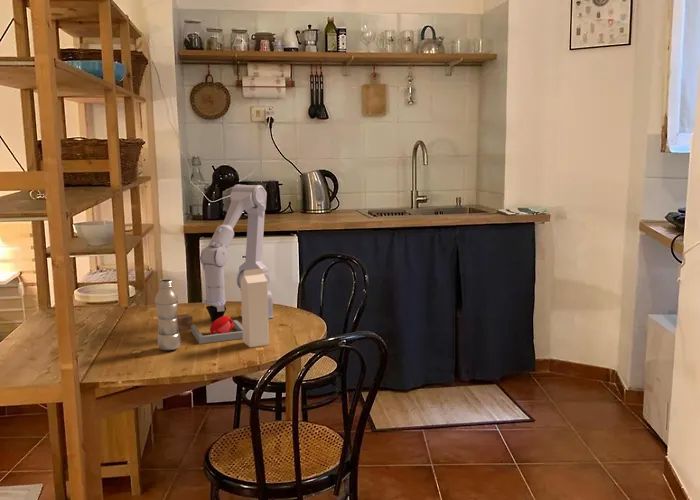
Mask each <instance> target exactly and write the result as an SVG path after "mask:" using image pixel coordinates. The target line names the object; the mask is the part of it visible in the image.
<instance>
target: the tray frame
mask: <svg viewBox="0 0 700 500" xmlns="http://www.w3.org/2000/svg"><path fill="white" fill-rule="evenodd" d="M232 321H233V323H234V325H233V327H232V328H234V329H235V330H236V331H230V333H222V334H219V333H215V334H214V333H213V334H212V335H210V334H206V335H203V334H202V333H201V331H200V330H199V329H198V327H197V325H195V324H193V325H191V329H190V332H191V333H192V334H193V337H194V338H195V340H196V341H197V342H198V344H199V345H203V344H211V343H218V342H227V341H233V340H234V341H235V340H243V327H242V323H241V322H239V321H238V320H237V319H235V320H233V319H232Z"/></svg>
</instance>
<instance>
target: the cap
mask: <svg viewBox="0 0 700 500" xmlns="http://www.w3.org/2000/svg"><path fill="white" fill-rule="evenodd" d="M233 325H234V323H233V319H231V316H229V315H224V316H222V317H220V318H218V319H216V320H215V321H214V322H213V323H212V322H211V325H210V328H209V332H210V333H209V335H214V332H215V333H216V334H222V333H230V332H232V330H233V328H234V327H233Z"/></svg>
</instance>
